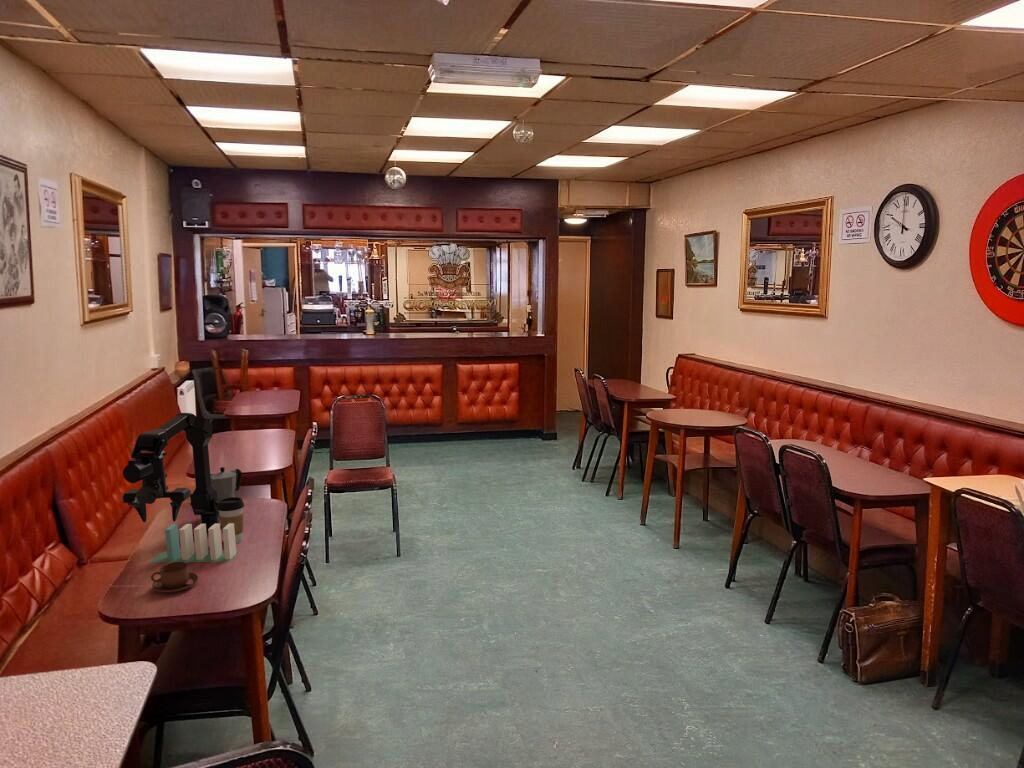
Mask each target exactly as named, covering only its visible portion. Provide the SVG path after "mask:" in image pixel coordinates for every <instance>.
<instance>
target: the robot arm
mask: <svg viewBox="0 0 1024 768" xmlns="http://www.w3.org/2000/svg"><path fill="white" fill-rule="evenodd" d="M213 429H214V426H213V424H212V422H210V420H208V419H205V418H203V417H199V416H197V415H195V414H194V413H192V412H179V413H177V414H176V415H175V416H174V417H172V418H171V419H170V420H168V421H166V423H164V424H162V425H160V426H159V427H158V428H155V429H151V430H147V431H144V432H142V433H140V434H139V435H138V436H137V439H136V441H135V444H134V447H133V450H132V453H131V456H130V458H131V459H129V460H128V461H127V465H125V466H124V468H123V472H122V476H123V478H124V479H125V481H126V482H128V483H130V484H136V483H138V482H140V481H141V482H142V483H141V487H140V488H131V489H129V490H127V491H126V492H124V493H123V494H122V497H121V498H122V503H123V504H127V505H128V506H131V507H133V508H134V509H135V510H136V512H137V514H138V515H139V517H140V519H141V521H142V523H146V522H147V504H148V505H152V504H155V502H156V500H157V499H168V498H169V500H170V502H169V504H170V506H171V515H172V522H174V523H175V522H176V521H177V519H178V515H179V512H180V509H181V506H182V504H183V502H185V501H186V500H187V499H188V498H190V506H191V508H192V509H191V510H192V511H193V514H194V516H200V524H206V532H207V534H208V529H209V528H210V527H211V526H213V525H214V524H220V519H219V517H218V515H219V510H217V506H218V501H219V500H218V496H217V492H216V491H215V489H214V488H213V487H212V485H211V475H212V474H211V466H210V465H211V464H210V455H209V443H210V441H211V440H212V438H213ZM181 432H184V434H185V438H186V441H187V442H188V443H189V445H190V446H191V448H192V459H193V473H194V480H195V481H194V482H195V488H194V490H193V492H192V493H191V490H190V488H188V487H176V488H175V489H174V490H172V491H168V490H169V486H168V485H167V481H166V478H167V477H168V473H166V471H165V464H164V462H165V461H164V457H165V456H167V455H168V453H167V451H164V450H165V449H166V448H167V447H168V445H169V441H170V440H171V439H172V438H174V437H175V436H176V435H178V434H180V433H181ZM220 530H222V529H221V524H220Z"/></svg>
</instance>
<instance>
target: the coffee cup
mask: <svg viewBox="0 0 1024 768" xmlns="http://www.w3.org/2000/svg"><path fill="white" fill-rule="evenodd" d="M244 507H245V503H244V502H243V498H242V497H239V496H235V497H230V498H225V499H222V500H220V501H218V506H217V510H219V524H220V525H221V529H220V530H221V535H223V528H224V527H225V526H227V525H228V524H229V523H234V530H235V542H236V545H237V544H239V543H242V542H243V541H244V517H245V516H244V513H245V512H244Z"/></svg>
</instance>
